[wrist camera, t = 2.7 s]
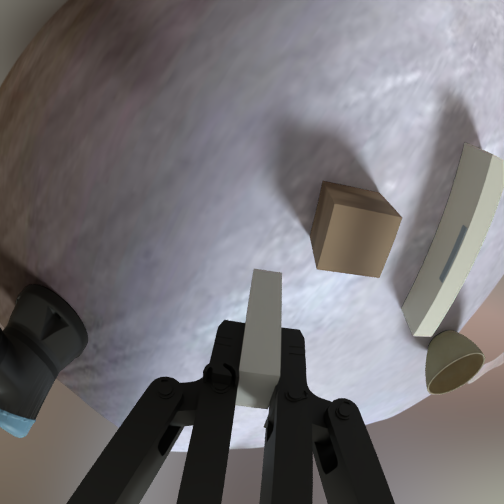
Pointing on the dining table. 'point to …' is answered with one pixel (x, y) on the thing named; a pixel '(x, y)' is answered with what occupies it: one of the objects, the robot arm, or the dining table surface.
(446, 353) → the flower pot
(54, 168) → the dining table surface
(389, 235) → the block
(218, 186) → the dining table surface
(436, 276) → the board
